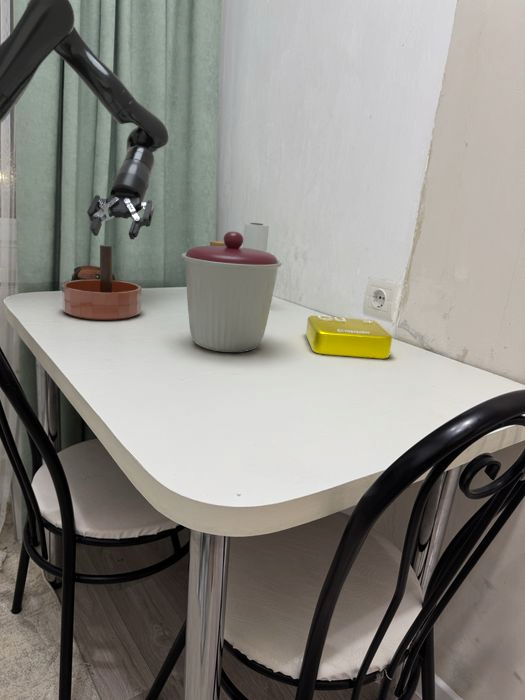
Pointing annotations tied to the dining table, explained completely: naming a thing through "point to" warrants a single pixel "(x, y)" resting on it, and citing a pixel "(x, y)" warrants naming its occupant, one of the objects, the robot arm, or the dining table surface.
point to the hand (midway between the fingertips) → (112, 235)
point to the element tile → (348, 337)
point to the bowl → (101, 300)
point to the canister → (229, 294)
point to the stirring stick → (105, 268)
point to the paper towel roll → (255, 236)
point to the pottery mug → (87, 273)
